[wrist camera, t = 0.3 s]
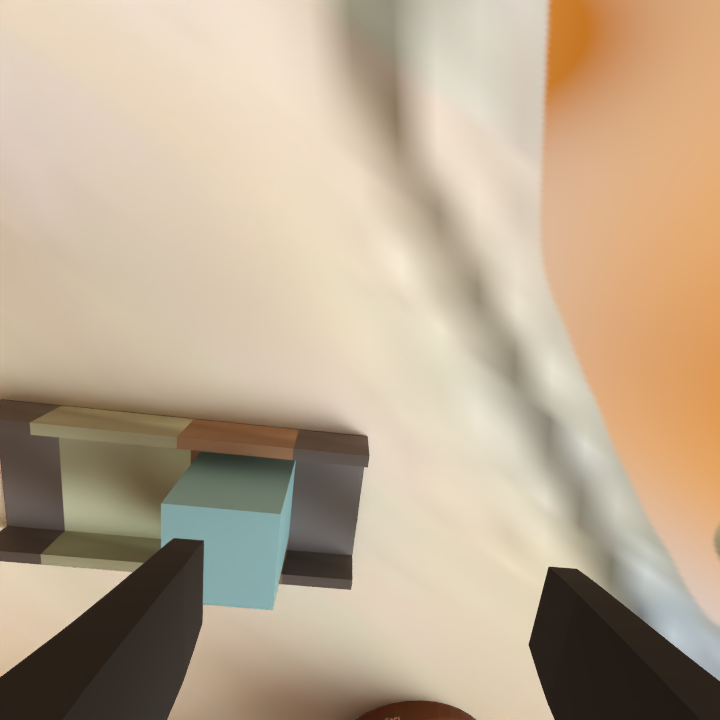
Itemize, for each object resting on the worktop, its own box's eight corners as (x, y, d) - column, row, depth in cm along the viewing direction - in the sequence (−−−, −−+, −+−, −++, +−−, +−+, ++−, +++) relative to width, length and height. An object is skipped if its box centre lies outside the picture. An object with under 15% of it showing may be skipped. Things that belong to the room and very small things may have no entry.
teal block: (288, 536, 19) (272, 610, 15) (200, 529, 19) (161, 601, 15) (296, 457, 18) (280, 514, 14) (202, 448, 18) (161, 503, 14)
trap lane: (350, 559, 20) (351, 589, 18) (13, 531, 19) (-21, 559, 17) (367, 436, 18) (369, 456, 16) (0, 399, 17) (-39, 415, 15)
